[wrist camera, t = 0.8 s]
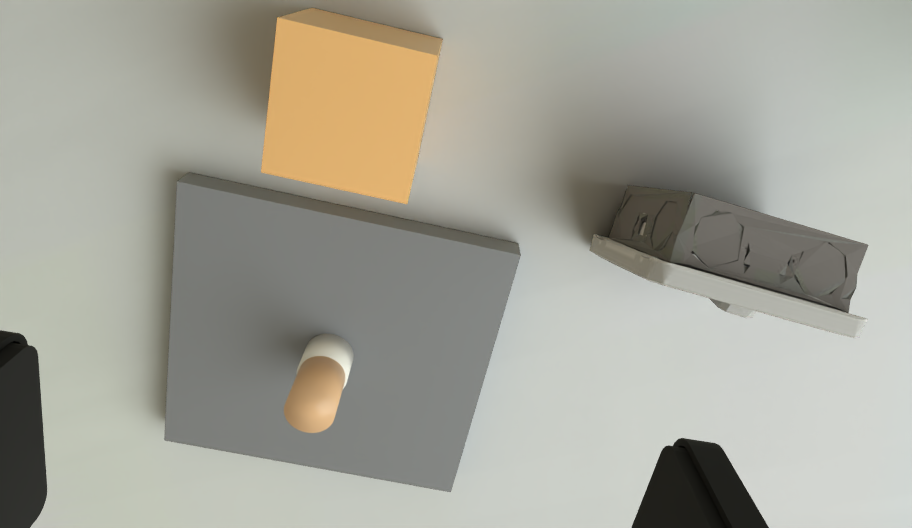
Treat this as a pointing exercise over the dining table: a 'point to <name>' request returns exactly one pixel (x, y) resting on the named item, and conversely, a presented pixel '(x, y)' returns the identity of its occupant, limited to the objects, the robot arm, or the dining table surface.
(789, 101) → the dining table surface
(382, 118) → the tan cardboard cube
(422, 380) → the plate
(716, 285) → the electrical switch
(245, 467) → the dining table surface
